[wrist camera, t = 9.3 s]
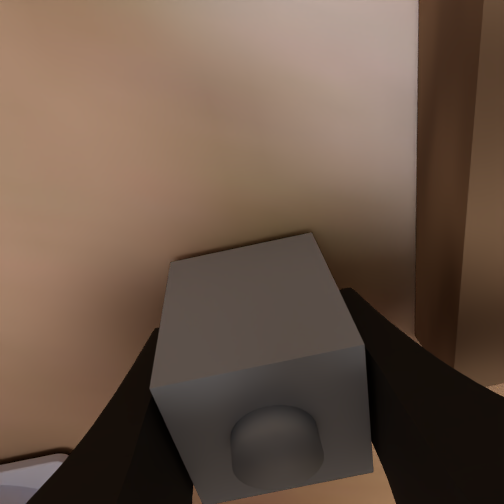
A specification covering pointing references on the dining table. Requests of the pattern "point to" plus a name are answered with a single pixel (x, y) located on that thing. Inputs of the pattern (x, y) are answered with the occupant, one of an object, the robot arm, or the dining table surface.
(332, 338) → the slate block
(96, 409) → the dining table surface
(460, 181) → the walnut base brick
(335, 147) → the dining table surface
